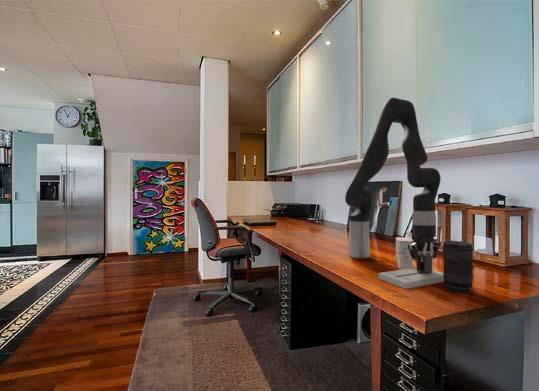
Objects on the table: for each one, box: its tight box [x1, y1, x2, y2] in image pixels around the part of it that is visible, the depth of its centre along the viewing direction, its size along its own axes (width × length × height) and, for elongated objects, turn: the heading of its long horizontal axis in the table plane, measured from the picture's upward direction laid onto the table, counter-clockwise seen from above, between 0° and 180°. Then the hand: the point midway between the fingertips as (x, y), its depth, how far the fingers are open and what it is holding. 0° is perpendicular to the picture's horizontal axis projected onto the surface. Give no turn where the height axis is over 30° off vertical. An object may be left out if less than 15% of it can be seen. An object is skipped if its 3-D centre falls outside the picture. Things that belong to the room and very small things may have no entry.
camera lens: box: [442, 240, 474, 294], centre depth 93 cm, size 8×8×15 cm
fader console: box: [378, 266, 444, 289], centre depth 104 cm, size 12×21×2 cm, turn 112°
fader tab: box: [417, 255, 433, 274], centre depth 105 cm, size 4×3×6 cm
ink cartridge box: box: [395, 230, 414, 270], centre depth 120 cm, size 9×5×15 cm, turn 168°
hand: (424, 270), depth 105 cm, fingers closed on fader tab, 3 cm apart
